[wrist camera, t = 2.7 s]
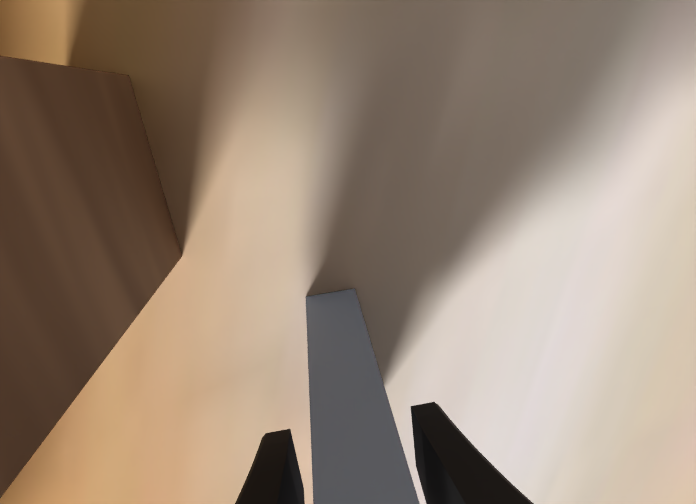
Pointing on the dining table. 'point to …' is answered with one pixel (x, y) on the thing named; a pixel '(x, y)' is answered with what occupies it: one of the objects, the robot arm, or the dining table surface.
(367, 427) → the domino
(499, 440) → the dining table surface
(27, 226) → the domino
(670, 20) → the dining table surface
